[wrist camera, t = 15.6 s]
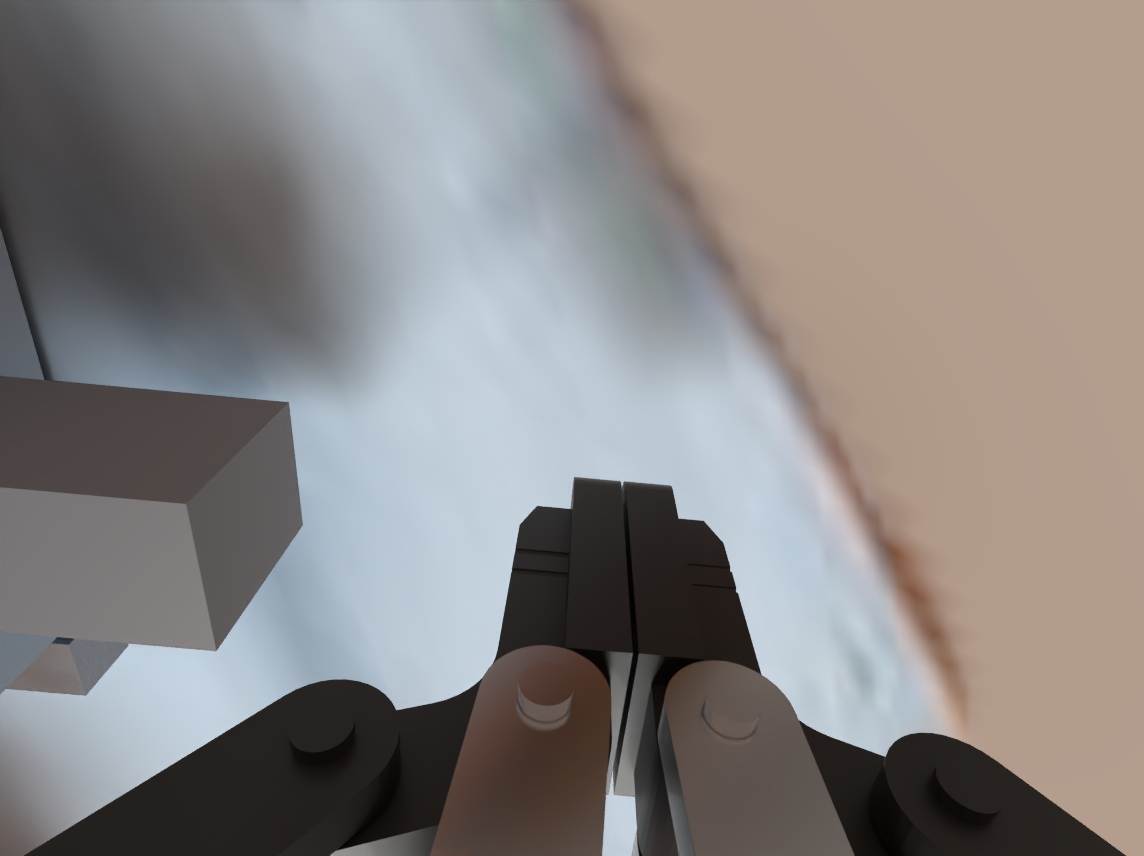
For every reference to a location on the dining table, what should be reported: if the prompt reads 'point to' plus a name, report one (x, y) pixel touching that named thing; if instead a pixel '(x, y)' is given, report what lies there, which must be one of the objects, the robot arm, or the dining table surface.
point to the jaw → (131, 506)
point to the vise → (69, 666)
